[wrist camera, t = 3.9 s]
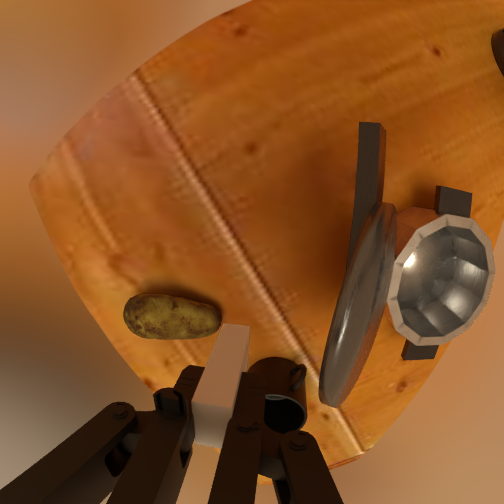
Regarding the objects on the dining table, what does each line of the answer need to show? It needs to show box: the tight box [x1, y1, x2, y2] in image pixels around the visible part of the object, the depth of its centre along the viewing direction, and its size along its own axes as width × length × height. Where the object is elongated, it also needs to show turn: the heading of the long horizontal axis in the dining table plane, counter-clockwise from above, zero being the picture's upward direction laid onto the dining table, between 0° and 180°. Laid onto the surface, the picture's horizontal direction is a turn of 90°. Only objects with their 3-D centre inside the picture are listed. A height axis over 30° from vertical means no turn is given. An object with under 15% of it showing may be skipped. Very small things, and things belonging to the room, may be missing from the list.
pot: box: [383, 186, 495, 360], centre depth 32 cm, size 17×22×9 cm
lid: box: [319, 122, 397, 408], centre depth 21 cm, size 17×22×3 cm
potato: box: [123, 293, 222, 340], centre depth 38 cm, size 8×13×8 cm, turn 63°
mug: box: [248, 358, 307, 434], centre depth 38 cm, size 9×12×9 cm
